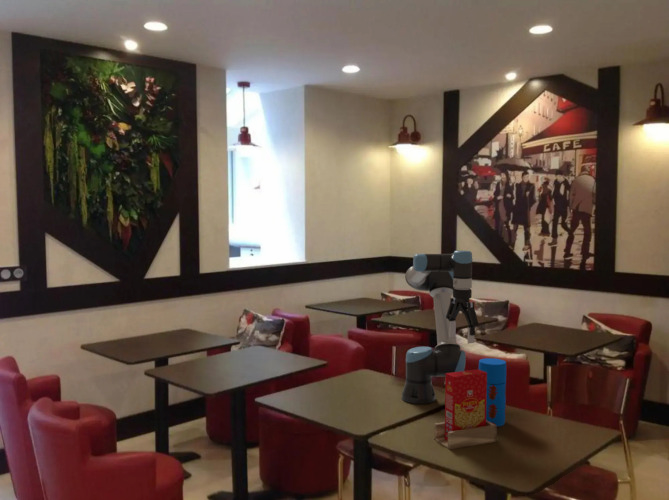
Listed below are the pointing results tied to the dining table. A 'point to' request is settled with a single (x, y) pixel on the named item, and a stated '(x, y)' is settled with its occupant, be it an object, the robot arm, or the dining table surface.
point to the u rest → (466, 435)
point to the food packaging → (465, 400)
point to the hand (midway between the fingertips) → (461, 339)
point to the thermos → (495, 389)
